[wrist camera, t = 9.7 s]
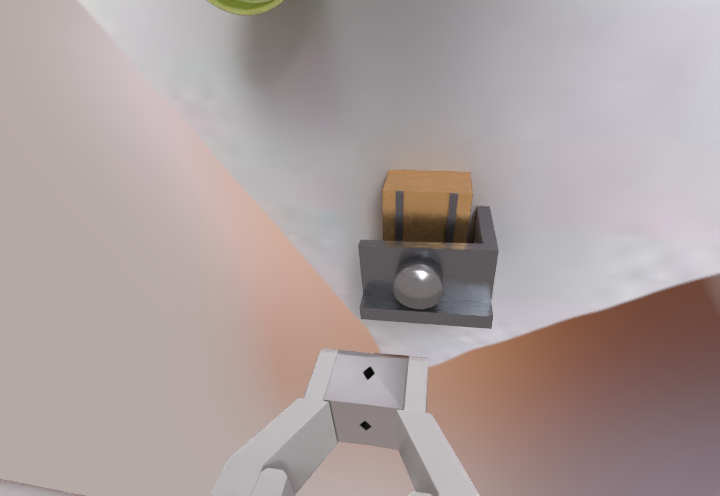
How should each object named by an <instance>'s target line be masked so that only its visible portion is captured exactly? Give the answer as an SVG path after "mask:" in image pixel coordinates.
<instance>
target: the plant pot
mask: <svg viewBox="0 0 720 496" xmlns="http://www.w3.org/2000/svg"><path fill="white" fill-rule="evenodd" d="M207 1H208V2H210V3H211V4H213V5H214V6H216V7H218V8H220V9H222V10H224V11H226V12H229V13H233V14H237V15H257V14H262V13H265V12H267V11H270V10H272V9H274V8H275V7H277V6H278V5H280V4H281V3H282V2H283V1H285V0H207Z"/></svg>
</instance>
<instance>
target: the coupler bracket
mask: <svg viewBox="0 0 720 496" xmlns="http://www.w3.org/2000/svg"><path fill="white" fill-rule="evenodd" d="M358 247H359V256H360V266H361V276H362V285H363V297H362V301H361V304H360V315H361V319H369V320H383V321H396V322H409V323H423V324H436V325H449V326H463V327H476V328H490V329H491V327H492V321H493V313H492V306H491V298H492V291H493V284H494V277H495V271H496V264H497V257H498V246H497V241H496V236H495V231H494V226H493V221H492V216H491V211H490V207H482V206H477V215H476V225H475V235H474V243H442V242H411V241H380V240H360V243H359V246H358Z"/></svg>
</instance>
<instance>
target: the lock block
mask: <svg viewBox="0 0 720 496" xmlns="http://www.w3.org/2000/svg"><path fill="white" fill-rule="evenodd" d="M472 196H473V191H472V183H471V175H470V172H450V171H416V170H389V171H388V175H387V178H386V181H385V184H384V187H383V241H411V242H442V243H466V241H467V233H468V226H469V219H470V211H471V204H472Z"/></svg>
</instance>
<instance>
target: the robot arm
mask: <svg viewBox="0 0 720 496" xmlns="http://www.w3.org/2000/svg"><path fill="white" fill-rule="evenodd" d="M427 382H428V358H423V357H412V356H404V355H391V354H378V353H374V354H370V353H362V352H354V351H345V350H336V349H326V348H323V349H322V350H321V351H320V353H319V355H318V358H317V361H316V364H315V367H314V370H313V372H312V375H311V378H310V381H309V384H308V387H307V390H306V392H305V395H304V398H297V400H295V401H294V402H293V403H292V404H291V405H289V406H288V407H287V408H286V409H285V410H284V411H282V413H280V414H279V415H278V416H277V417H276V418H274V419H273V420H272V421H271V422H270V423H269V424H267V426H265V427H264V428H263V429H262V430H261V431H259V432H258V433H257V434H256V435H255V436H254V437H253V438H251V439H250V440H249V441H248V442H247V443H246V444H244V445H243V446H242V447H241V448H240V449H239V450H238V451H236V452H235V453H234V454H233V455H232V456H231V457H229V458H228V459H227V461H226V464H225V466H224V468H223V470H222V472H221V474H220V476H219V478H218V481H217V483H216V485H215V487H214V489H213V491H212V493H211V495H210V496H295V494H296V493H297V492H298V491H299V490H300V488H301V487H302V486H303V485H304V484H305V482H306V481H307V480H308V479H309V477H310V476H311V475H312V474H313V473H314V471H315V470H316V469H317V468H318V467H319V465H320V464H321V463H322V462H323V461H324V459H325V458H326V457H327V455H329V453H330V452H331V451H332V450H333V448H334V447H335V446H336V445H337V441H339V442H348V443H357V444H366V445H372V446H378V447H384V448H390V449H396V450H399V452H400V455H401V457H402V460H403V462H404V464H405V467H406V469H407V471H408V474H409V476H410V479H411V481H412V483H413V486H414V488H415V491H416V492H414V491H412V492H411V493H410V494H408V495H407V496H480V495H479V494H478V492H477V490H476V488H475V487H474V485H473V483H472V482H471V480H470V478H469V477H468V475H467V473H466V472H465V470H464V468H463V466H462V465H461V463H460V461H459V460H458V458H457V456H456V455H455V453H454V451H453V450H452V448H451V446H450V444H449V443H448V441H447V440H446V438H445V436H444V434H443V433H442V431H441V429H440V427H439V426H438V424H437V422H436V421H435V419H434V417H433V416H432V414H430V413H427V385H428V384H427ZM0 496H84V495H79V494H74V493H69V492H63V491H59V490H54V489H49V488H44V487H39V486H34V485H29V484H24V483H18V482H13V481H8V480H3V479H0Z"/></svg>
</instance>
